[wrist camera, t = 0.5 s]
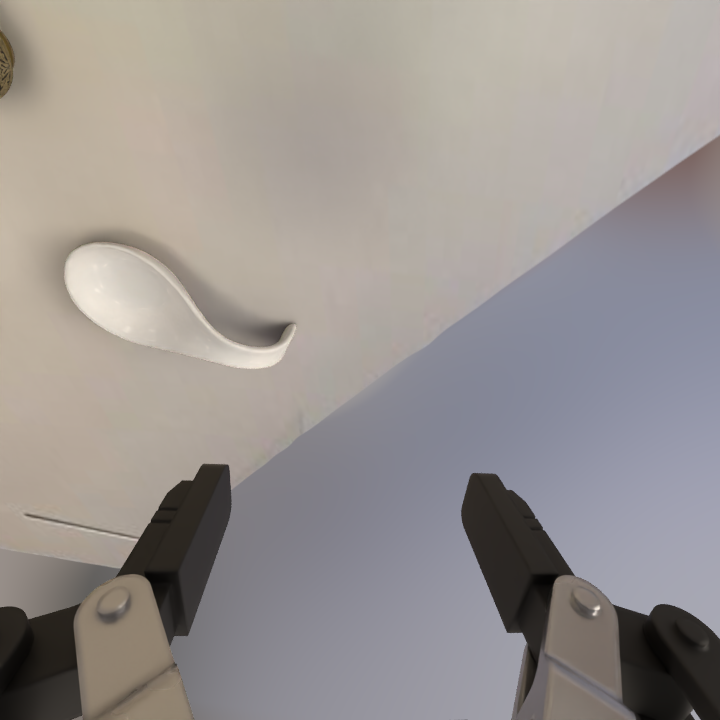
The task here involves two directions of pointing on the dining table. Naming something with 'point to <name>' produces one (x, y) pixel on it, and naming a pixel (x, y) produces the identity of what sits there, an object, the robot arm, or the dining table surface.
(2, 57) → the cup
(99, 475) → the dining table surface
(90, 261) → the spoon rest
